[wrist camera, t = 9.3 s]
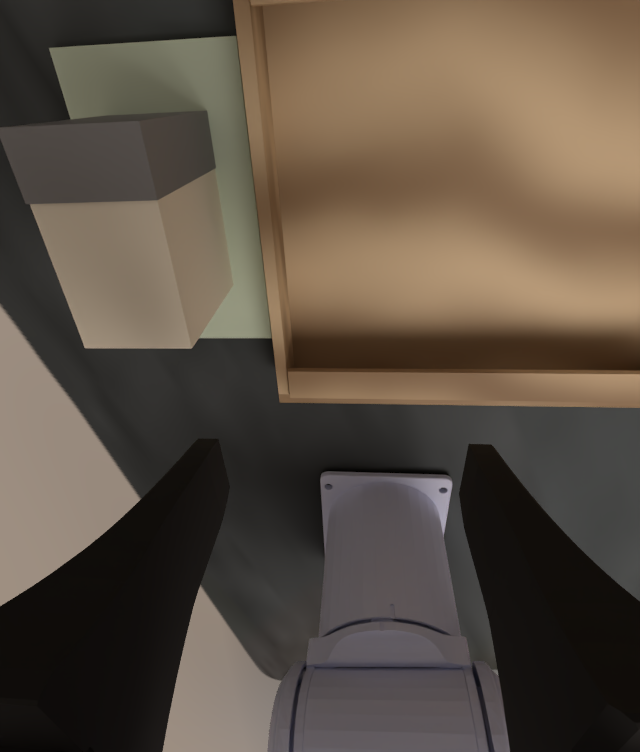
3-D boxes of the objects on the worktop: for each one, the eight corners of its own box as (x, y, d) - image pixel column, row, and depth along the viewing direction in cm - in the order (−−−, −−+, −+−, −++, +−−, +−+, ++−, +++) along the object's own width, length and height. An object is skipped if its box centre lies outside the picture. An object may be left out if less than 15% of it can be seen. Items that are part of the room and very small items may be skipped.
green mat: (273, 332, 23) (271, 338, 22) (142, 332, 23) (137, 338, 23) (239, 37, 16) (235, 35, 15) (58, 49, 17) (48, 48, 16)
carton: (641, 376, 22) (675, 412, 20) (287, 373, 24) (278, 406, 21) (848, -111, 13) (960, -157, 10) (243, -59, 15) (220, -88, 12)
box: (234, 284, 21) (192, 349, 16) (150, 285, 21) (82, 349, 16) (207, 110, 17) (138, 121, 12) (105, 115, 17) (-4, 127, 12)
